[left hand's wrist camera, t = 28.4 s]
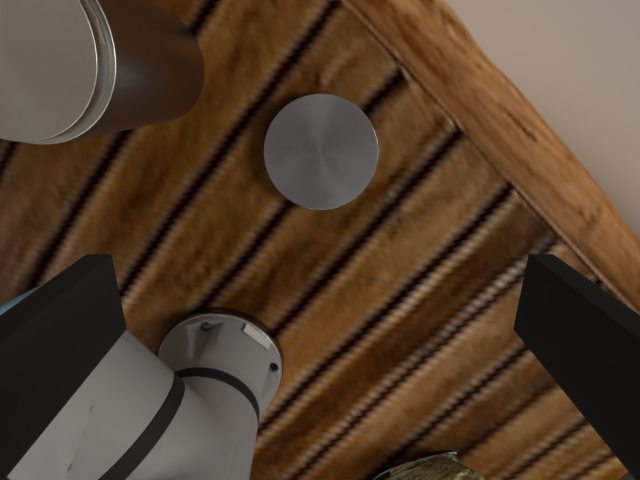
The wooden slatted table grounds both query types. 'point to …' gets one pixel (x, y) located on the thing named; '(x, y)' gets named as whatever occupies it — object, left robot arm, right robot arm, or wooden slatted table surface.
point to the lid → (321, 151)
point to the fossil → (431, 469)
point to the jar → (92, 68)
